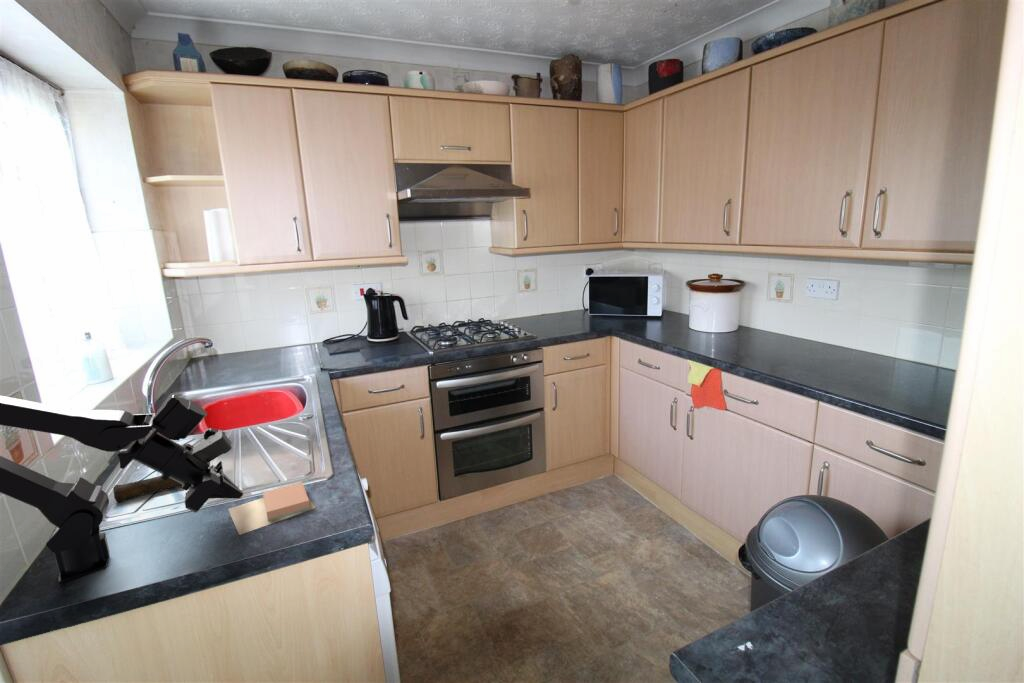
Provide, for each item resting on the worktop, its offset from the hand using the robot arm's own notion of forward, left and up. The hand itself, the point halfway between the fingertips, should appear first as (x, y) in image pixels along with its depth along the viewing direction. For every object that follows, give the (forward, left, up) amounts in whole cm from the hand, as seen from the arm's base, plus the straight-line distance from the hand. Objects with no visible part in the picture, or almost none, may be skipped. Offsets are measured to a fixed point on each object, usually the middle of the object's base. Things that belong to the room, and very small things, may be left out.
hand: (241, 495), depth 101 cm
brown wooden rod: (-12, +28, -6) cm, 31 cm away
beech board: (+5, 0, -6) cm, 8 cm away
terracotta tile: (+4, -1, -4) cm, 5 cm away
